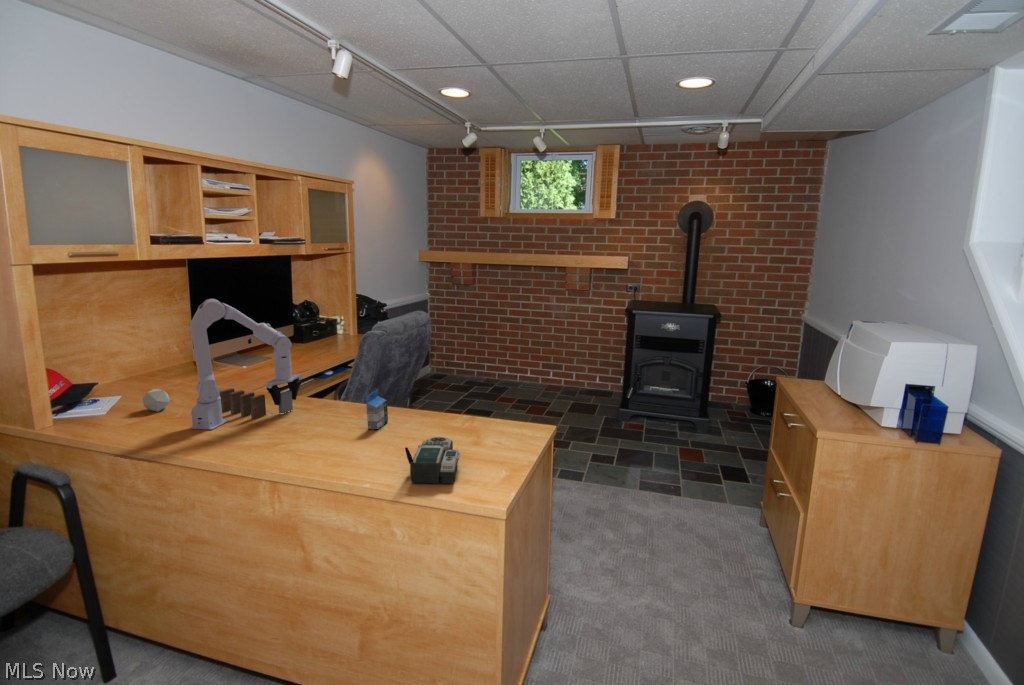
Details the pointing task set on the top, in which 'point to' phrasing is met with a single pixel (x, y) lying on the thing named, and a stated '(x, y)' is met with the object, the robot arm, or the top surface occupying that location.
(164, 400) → the die
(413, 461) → the communication device
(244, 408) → the domino
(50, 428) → the top surface
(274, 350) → the robot arm
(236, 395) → the domino
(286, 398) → the domino
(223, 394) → the domino
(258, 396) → the domino
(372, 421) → the label tape box
